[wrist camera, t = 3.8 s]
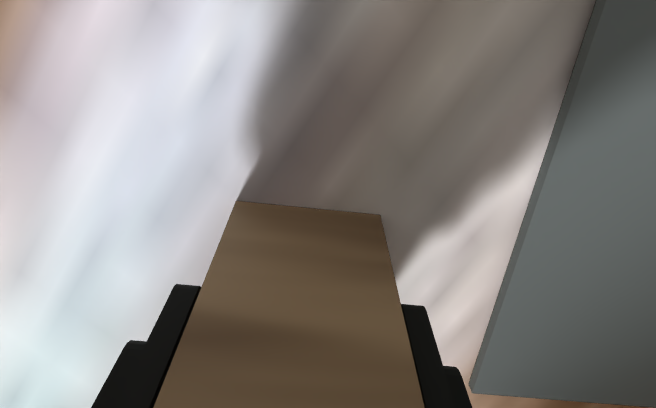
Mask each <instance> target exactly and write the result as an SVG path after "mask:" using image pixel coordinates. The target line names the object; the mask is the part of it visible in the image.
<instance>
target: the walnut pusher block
mask: <svg viewBox="0 0 656 408" xmlns="http://www.w3.org/2000/svg"><path fill="white" fill-rule="evenodd" d="M153 408H425V407H424V403H423V399H422V394H421V390H420V386H419V381H418V377H417V373H416V368H415V364H414V360H413V355H412V351H411V347H410V342H409V338H408V334H407V329H406V325H405V321H404V316H403V312H402V308H401V303H400V299H399V295H398V290H397V286H396V282H395V277H394V273H393V269H392V264H391V260H390V255H389V251H388V247H387V242H386V238H385V234H384V229H383V225H382V221H381V216H380V215H374V214H364V213H354V212H344V211H334V210H323V209H313V208H303V207H293V206H283V205H272V204H262V203H252V202H242V201H236V202H235V205H234V207H233V210H232V212H231V215H230V217H229V220H228V222H227V225H226V227H225V230H224V232H223V235H222V237H221V240H220V242H219V245H218V247H217V250H216V252H215V255H214V257H213V260H212V262H211V265H210V267H209V270H208V272H207V275H206V277H205V280H204V282H203V285H202V287H201V290H200V292H199V295H198V297H197V300H196V302H195V305H194V307H193V310H192V312H191V315H190V317H189V320H188V322H187V325H186V327H185V330H184V332H183V335H182V337H181V340H180V342H179V345H178V347H177V350H176V352H175V355H174V357H173V360H172V362H171V365H170V367H169V370H168V372H167V375H166V377H165V380H164V382H163V385H162V387H161V390H160V392H159V395H158V397H157V400H156V402H155V405H154V407H153Z"/></svg>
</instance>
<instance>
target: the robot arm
mask: <svg viewBox="0 0 656 408" xmlns="http://www.w3.org/2000/svg"><path fill="white" fill-rule="evenodd" d="M200 290H201V287H200V286H192V285H181V284H176V285H175V286H174V287H173V289H172V291H171V293H170V295H169V298H168V300H167V302H166V304H165V306H164V308H163V310H162V312H161V314H160V316H159V318H158V320H157V322H156V324H155V326H154V328H153V330H152V332H151V334H150V336H149V338H148V340H147V342H145V341H133V340H130V341H129V342H128V343H127V344H126V345H125V347H124V348H123V350H122V352H121V354H120V356H119V358H118V359H117V361H116V363H115V365H114V367H113V369H112V370H111V372H110V374H109V376H108V378H107V380H106V381H105V383H104V385H103V387H102V389H101V391H100V392H99V394H98V396H97V398H96V400H95V402H94V403H93V405H92V407H91V408H153V407H154V405H155V402H156V400H157V397H158V395H159V392H160V390H161V387H162V385H163V382H164V380H165V377H166V375H167V372H168V370H169V367H170V365H171V362H172V360H173V357H174V355H175V352H176V350H177V347H178V345H179V342H180V340H181V337H182V335H183V332H184V330H185V327H186V325H187V322H188V320H189V317H190V315H191V312H192V310H193V307H194V305H195V302H196V300H197V297H198V295H199V292H200ZM401 308H402V312H403V316H404V321H405V325H406V329H407V334H408V338H409V342H410V347H411V351H412V355H413V360H414V364H415V368H416V373H417V377H418V381H419V386H420V390H421V394H422V399H423V403H424V407H425V408H472V406H471V403H470V400H469V397H468V394H467V391H466V388H465V385H464V382H463V379H462V376H461V374H460V372H459V370H458V369H457V368H456V367H450V366H443V365H442V361H441V358H440V355H439V351H438V348H437V345H436V341H435V338H434V335H433V331H432V328H431V325H430V321H429V318H428V315H427V311H426V309H425V307H424V306H417V305H406V304H401Z"/></svg>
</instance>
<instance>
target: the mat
mask: <svg viewBox="0 0 656 408" xmlns="http://www.w3.org/2000/svg"><path fill="white" fill-rule="evenodd" d="M469 386H470V389H471V392H472V393H475V394H488V395H501V396H513V397H526V398H539V399H551V400H564V401H577V402H589V403H602V404H615V405H627V406H640V407H653V408H656V0H596V3H595V6H594V9H593V12H592V15H591V18H590V21H589V24H588V27H587V30H586V33H585V36H584V39H583V42H582V45H581V48H580V51H579V54H578V57H577V60H576V63H575V66H574V69H573V72H572V75H571V78H570V81H569V84H568V87H567V90H566V93H565V96H564V99H563V102H562V105H561V108H560V111H559V114H558V117H557V120H556V123H555V126H554V129H553V132H552V135H551V138H550V141H549V144H548V147H547V150H546V153H545V156H544V159H543V162H542V165H541V168H540V171H539V174H538V177H537V180H536V183H535V186H534V189H533V192H532V195H531V198H530V201H529V204H528V207H527V210H526V213H525V216H524V219H523V222H522V225H521V228H520V231H519V234H518V237H517V240H516V243H515V246H514V249H513V252H512V255H511V258H510V261H509V264H508V267H507V270H506V273H505V276H504V279H503V282H502V285H501V288H500V291H499V294H498V297H497V300H496V303H495V306H494V309H493V312H492V315H491V318H490V321H489V324H488V327H487V330H486V333H485V336H484V339H483V342H482V345H481V348H480V351H479V354H478V357H477V360H476V363H475V366H474V369H473V372H472V375H471V378H470V381H469Z"/></svg>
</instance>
